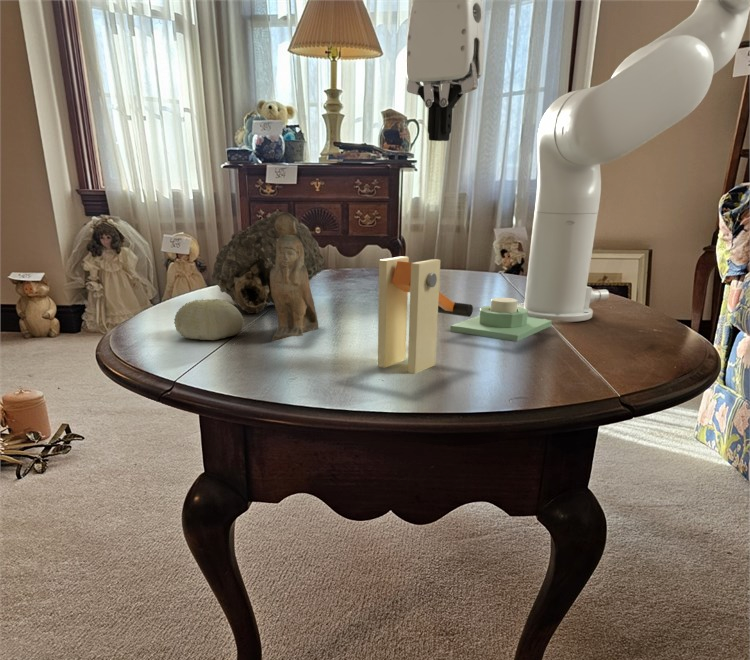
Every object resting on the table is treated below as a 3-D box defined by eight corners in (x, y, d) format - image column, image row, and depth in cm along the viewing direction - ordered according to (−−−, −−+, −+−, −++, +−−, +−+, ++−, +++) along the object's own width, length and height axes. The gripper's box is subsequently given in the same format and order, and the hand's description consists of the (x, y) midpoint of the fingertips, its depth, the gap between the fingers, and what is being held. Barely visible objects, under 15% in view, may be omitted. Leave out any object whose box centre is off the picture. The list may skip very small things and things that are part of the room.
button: (497, 309, 93) (498, 296, 93) (520, 312, 92) (521, 299, 91) (485, 313, 91) (486, 300, 90) (509, 316, 89) (511, 303, 88)
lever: (434, 317, 81) (439, 298, 81) (469, 322, 79) (475, 302, 78) (380, 282, 70) (386, 259, 70) (420, 286, 67) (426, 263, 67)
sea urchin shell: (174, 315, 95) (210, 274, 93) (217, 352, 98) (252, 314, 96) (161, 328, 87) (200, 284, 85) (208, 369, 90) (246, 327, 88)
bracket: (401, 360, 81) (404, 251, 76) (465, 372, 77) (474, 257, 71) (343, 383, 73) (341, 261, 67) (411, 398, 68) (416, 269, 62)
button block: (487, 326, 100) (489, 299, 98) (550, 335, 95) (553, 307, 93) (449, 341, 91) (451, 312, 89) (516, 352, 86) (519, 321, 84)
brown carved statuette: (304, 365, 88) (292, 227, 77) (265, 362, 89) (248, 224, 78) (324, 328, 97) (316, 199, 86) (288, 326, 98) (276, 198, 87)
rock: (281, 195, 112) (266, 179, 98) (338, 262, 116) (332, 256, 101) (206, 271, 116) (182, 266, 102) (263, 333, 119) (248, 337, 105)
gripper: (511, -22, 84) (498, 140, 93) (413, -7, 92) (408, 142, 100) (485, -35, 79) (473, 138, 87) (383, -18, 86) (381, 140, 95)
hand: (438, 140), depth 94 cm, fingers closed
